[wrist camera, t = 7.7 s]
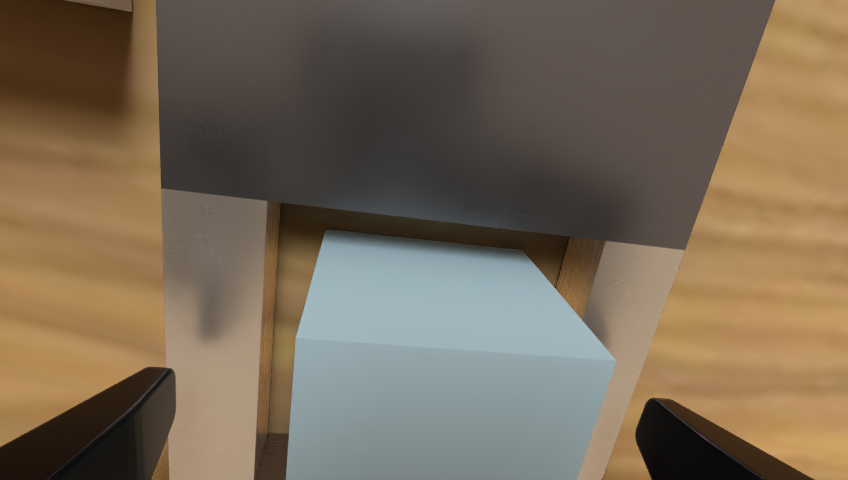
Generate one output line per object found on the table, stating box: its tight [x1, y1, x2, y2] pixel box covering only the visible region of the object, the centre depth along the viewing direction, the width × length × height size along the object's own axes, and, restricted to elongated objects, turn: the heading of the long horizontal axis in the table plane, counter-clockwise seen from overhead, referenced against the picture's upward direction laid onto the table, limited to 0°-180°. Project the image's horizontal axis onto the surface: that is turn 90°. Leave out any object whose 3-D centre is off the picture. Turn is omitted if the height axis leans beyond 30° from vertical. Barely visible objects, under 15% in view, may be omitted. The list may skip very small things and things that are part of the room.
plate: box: [156, 0, 775, 480], centre depth 10 cm, size 10×20×2 cm, turn 171°
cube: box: [286, 229, 617, 480], centre depth 9 cm, size 4×4×4 cm
